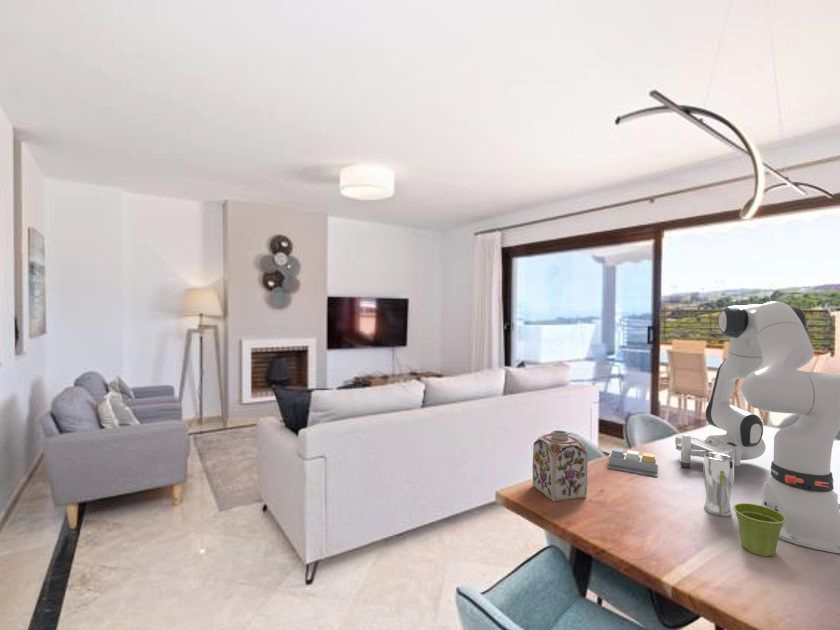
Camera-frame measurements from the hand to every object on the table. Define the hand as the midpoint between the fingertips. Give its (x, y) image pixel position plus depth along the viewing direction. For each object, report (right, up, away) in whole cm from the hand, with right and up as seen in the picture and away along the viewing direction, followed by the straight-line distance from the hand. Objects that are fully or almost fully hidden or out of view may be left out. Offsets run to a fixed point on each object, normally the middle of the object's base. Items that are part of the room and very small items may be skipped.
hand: (683, 450), depth 150 cm
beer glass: (-11, -7, -32) cm, 35 cm away
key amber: (-13, -4, -2) cm, 14 cm away
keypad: (-18, -6, 0) cm, 18 cm away
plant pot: (-14, -7, -51) cm, 53 cm away
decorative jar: (-50, -6, -21) cm, 54 cm away
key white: (-17, -4, 0) cm, 18 cm away
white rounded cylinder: (+1, -6, 0) cm, 6 cm away
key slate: (-22, -4, +3) cm, 22 cm away
